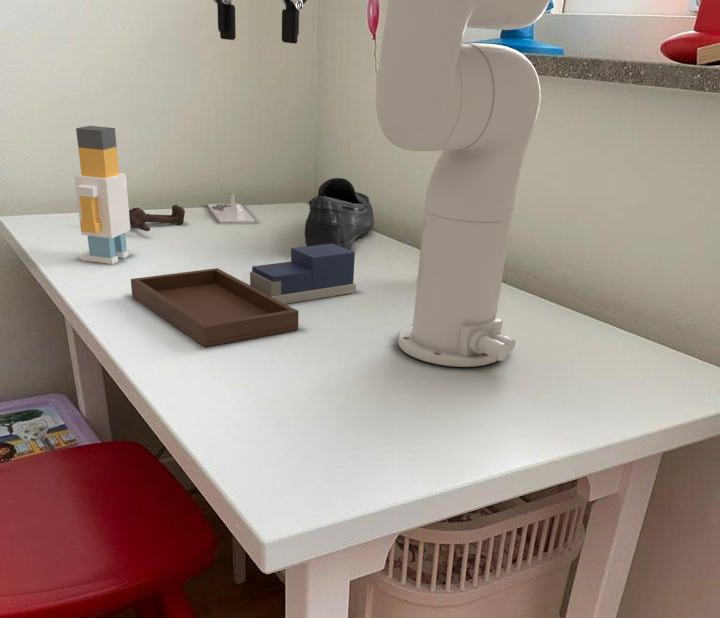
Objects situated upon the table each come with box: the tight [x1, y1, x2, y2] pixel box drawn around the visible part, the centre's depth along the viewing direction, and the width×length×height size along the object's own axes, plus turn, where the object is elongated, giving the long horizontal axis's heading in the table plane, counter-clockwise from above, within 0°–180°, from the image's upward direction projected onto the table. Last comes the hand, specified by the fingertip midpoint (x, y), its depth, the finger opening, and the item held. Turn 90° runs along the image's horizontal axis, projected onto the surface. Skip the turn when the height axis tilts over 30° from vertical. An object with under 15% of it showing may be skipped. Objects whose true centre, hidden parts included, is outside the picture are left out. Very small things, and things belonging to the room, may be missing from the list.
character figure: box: [74, 125, 131, 265], centre depth 112 cm, size 8×10×18 cm
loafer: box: [304, 177, 375, 251], centre depth 134 cm, size 10×29×10 cm, turn 174°
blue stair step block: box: [249, 243, 357, 305], centre depth 106 cm, size 6×14×6 cm, turn 127°
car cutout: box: [206, 193, 257, 225], centre depth 146 cm, size 15×7×4 cm, turn 18°
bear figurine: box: [129, 204, 186, 232], centre depth 134 cm, size 18×4×14 cm
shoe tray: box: [130, 267, 300, 348], centre depth 97 cm, size 21×13×2 cm, turn 37°
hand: (259, 41), depth 106 cm, fingers open, 9 cm apart
